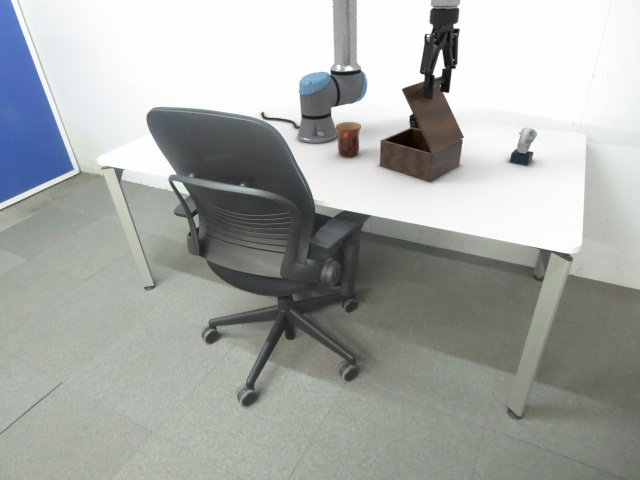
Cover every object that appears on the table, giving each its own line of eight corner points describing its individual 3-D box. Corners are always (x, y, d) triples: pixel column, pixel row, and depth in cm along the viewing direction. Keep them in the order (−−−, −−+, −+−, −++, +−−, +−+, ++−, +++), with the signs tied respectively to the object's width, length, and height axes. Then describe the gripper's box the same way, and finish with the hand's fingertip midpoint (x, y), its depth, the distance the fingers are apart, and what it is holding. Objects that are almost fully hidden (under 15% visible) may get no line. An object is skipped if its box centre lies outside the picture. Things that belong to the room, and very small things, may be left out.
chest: (379, 166, 141) (380, 140, 136) (409, 151, 150) (411, 127, 146) (430, 182, 129) (432, 154, 124) (459, 165, 138) (462, 139, 133)
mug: (338, 149, 156) (337, 121, 150) (362, 150, 154) (362, 122, 148) (332, 162, 146) (331, 133, 140) (358, 163, 144) (358, 133, 139)
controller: (406, 136, 163) (408, 110, 158) (419, 127, 172) (421, 102, 166) (416, 138, 161) (418, 112, 156) (429, 128, 170) (432, 103, 164)
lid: (401, 89, 123) (416, 78, 118) (434, 78, 132) (449, 67, 127) (432, 153, 124) (448, 145, 119) (462, 138, 134) (478, 130, 128)
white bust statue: (533, 159, 140) (541, 126, 134) (525, 167, 134) (533, 133, 129) (515, 155, 143) (522, 123, 137) (507, 163, 138) (514, 130, 132)
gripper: (434, 11, 104) (426, 105, 116) (478, 3, 116) (466, 89, 128) (409, 10, 109) (404, 101, 121) (453, 3, 121) (444, 86, 133)
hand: (436, 95), depth 125 cm, fingers closed on lid, 8 cm apart
